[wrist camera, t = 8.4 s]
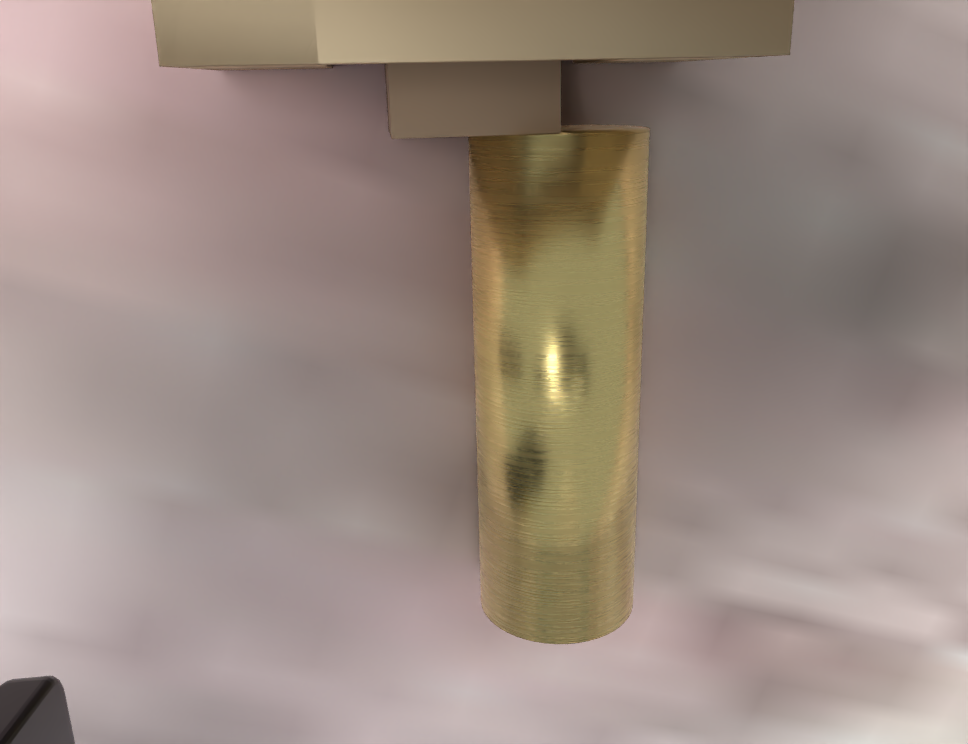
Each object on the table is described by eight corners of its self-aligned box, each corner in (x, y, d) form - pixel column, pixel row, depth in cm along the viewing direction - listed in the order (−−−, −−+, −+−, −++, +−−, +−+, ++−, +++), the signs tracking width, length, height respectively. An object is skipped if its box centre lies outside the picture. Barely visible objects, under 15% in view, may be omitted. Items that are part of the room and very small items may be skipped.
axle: (507, 550, 19) (644, 571, 18) (458, 627, 17) (616, 657, 16) (501, 125, 16) (662, 124, 16) (441, 135, 14) (631, 135, 13)
